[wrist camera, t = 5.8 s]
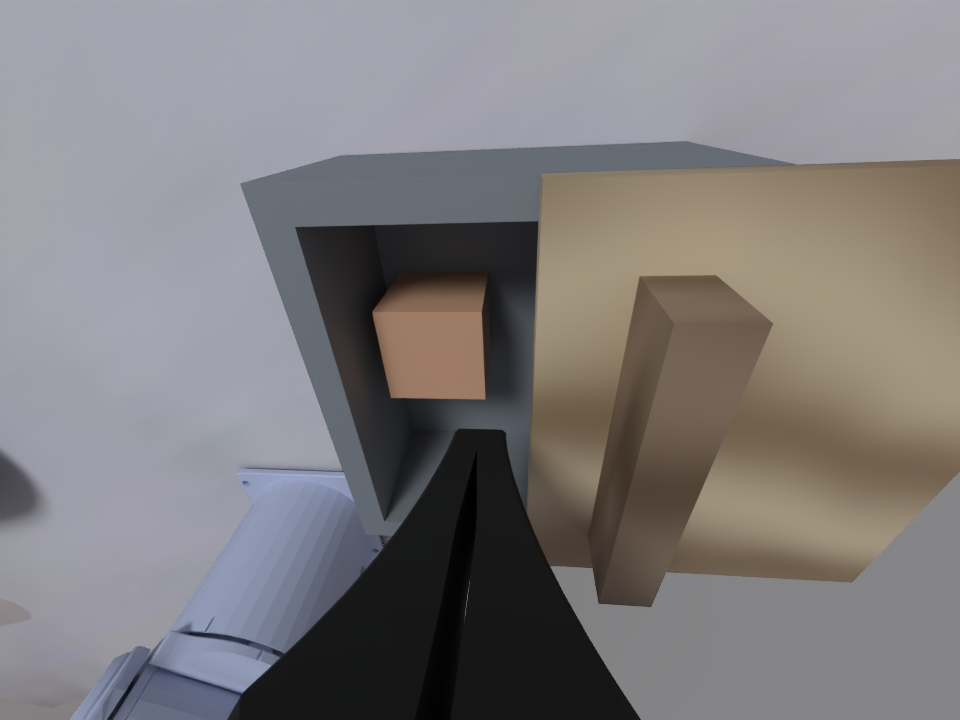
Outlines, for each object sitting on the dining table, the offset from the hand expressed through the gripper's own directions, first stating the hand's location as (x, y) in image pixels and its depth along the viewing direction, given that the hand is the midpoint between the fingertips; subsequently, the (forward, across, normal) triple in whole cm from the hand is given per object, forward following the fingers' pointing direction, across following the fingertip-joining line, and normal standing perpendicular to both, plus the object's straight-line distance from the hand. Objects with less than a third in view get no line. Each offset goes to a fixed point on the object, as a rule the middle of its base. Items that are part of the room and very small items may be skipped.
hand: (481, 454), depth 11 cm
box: (+8, -1, 0) cm, 8 cm away
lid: (+1, -7, 0) cm, 8 cm away
